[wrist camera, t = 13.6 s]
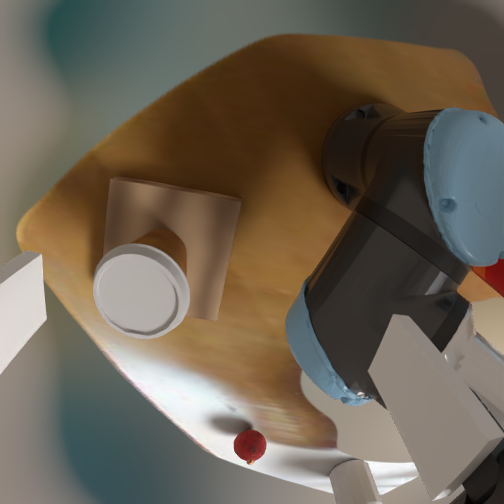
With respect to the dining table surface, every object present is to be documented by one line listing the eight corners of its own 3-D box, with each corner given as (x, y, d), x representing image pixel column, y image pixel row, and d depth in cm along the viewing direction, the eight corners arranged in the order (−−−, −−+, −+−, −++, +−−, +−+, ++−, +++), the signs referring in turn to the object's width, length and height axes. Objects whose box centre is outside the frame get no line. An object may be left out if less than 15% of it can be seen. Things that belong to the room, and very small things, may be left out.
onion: (241, 417, 53) (242, 452, 45) (269, 424, 54) (274, 458, 46) (228, 435, 54) (229, 468, 47) (256, 441, 55) (259, 473, 48)
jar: (345, 455, 60) (366, 519, 43) (375, 459, 62) (397, 516, 45) (319, 476, 62) (334, 537, 45) (349, 479, 64) (366, 535, 47)
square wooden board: (241, 198, 40) (241, 202, 37) (217, 310, 45) (216, 321, 42) (118, 175, 38) (110, 178, 35) (108, 288, 43) (101, 297, 40)
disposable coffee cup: (112, 260, 39) (73, 304, 27) (151, 199, 37) (118, 226, 25) (172, 302, 41) (154, 359, 30) (216, 247, 39) (209, 291, 28)
